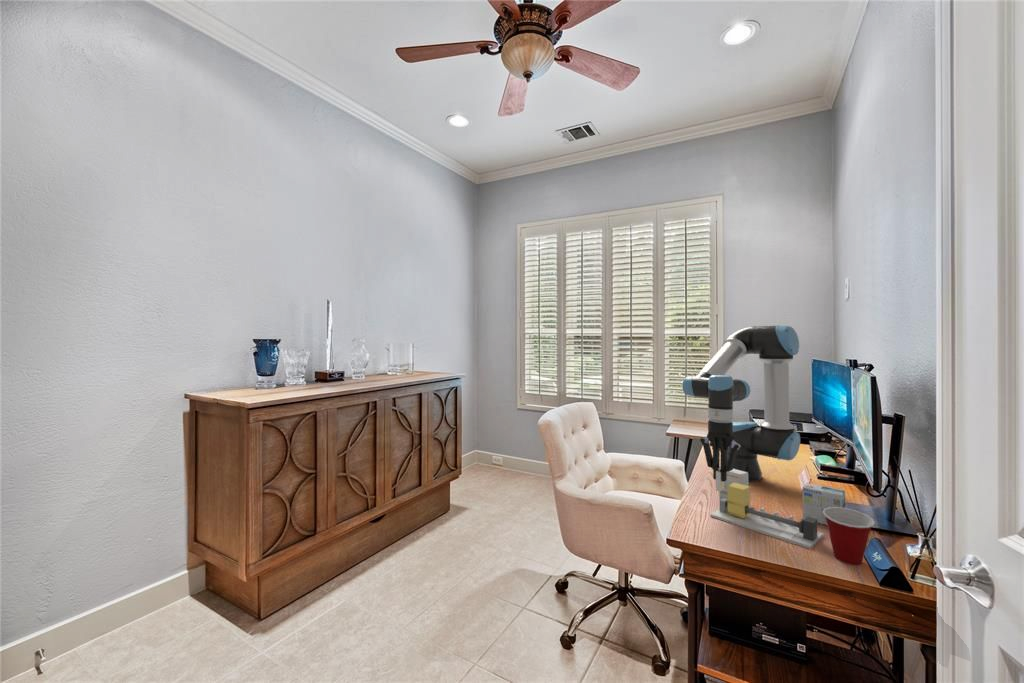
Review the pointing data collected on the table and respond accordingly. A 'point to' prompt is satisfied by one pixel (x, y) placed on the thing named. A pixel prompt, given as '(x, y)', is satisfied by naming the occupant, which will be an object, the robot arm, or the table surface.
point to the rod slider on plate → (773, 525)
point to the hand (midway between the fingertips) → (719, 489)
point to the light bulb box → (821, 501)
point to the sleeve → (738, 499)
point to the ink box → (733, 481)
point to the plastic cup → (848, 533)
